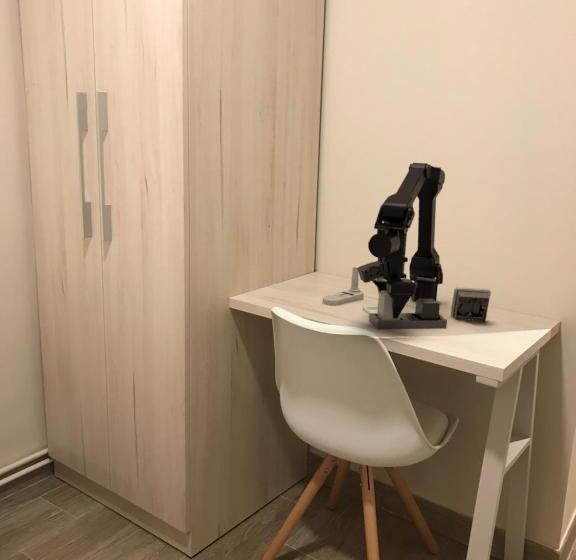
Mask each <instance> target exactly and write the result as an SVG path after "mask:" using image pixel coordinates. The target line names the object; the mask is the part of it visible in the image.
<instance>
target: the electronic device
mask: <svg viewBox="0 0 576 560" xmlns="http://www.w3.org/2000/svg"><path fill="white" fill-rule="evenodd" d="M357 268H358V267H356V266H355V267H352V272H351V273H352V275H351V283H350V284H351V285H350V288H349V289H347V290H343V291H340V292H336V293H332V294H328V295H325V296H323V297H322V304H323V305H325V306H329V307H330V306H332V307H338V306H342V305H346V304H350V303H356V302H359V301H363V300H364V294H365V293H364V291H362V290H361V289H360V288H359V272H358V269H357Z"/></svg>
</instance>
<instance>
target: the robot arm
mask: <svg viewBox="0 0 576 560" xmlns="http://www.w3.org/2000/svg"><path fill="white" fill-rule="evenodd" d="M445 180H446V173H445V171H444V170H443V169H442V168H441V167H439V166H433V165H431V164H428V163H427V162H426V163H425V162H412V163H410V164H409V166H408V172H407V173H406V175H405V177H404V179H403V180H402V182H401V184H400V185H399V188H398V189H397V191H396V192H395V193H393V194H391V195H388V196H387V198H386V199H385V200H384V202H382V204H381V205H380V207H379V210H378V213H377V216H376V219H375V223H374V227H373V228H374V229H375V230H376V233H375V234H373V235H372V236H371V237H370V238H369V241H368V244H367V245H368V251H369V252H370V254H371V255H372V256H373V257H375V258H377V260H376V261H372V262H369V263H366V264H363V265H360V266H357V267H356V268H357V269H358V276H359V279H360V281H363V283H365V284H366V283H371V282H372V283H373V285H375V286H376V288H377V293H378V294H379V292H381V291H386V292H387V294H388V295H389V296H390V297H391V301H392V315H393V318H394V319H397V318H398V317H399V315H400V313H401V312H402V313H403V310H404V308H405V307H406V305H407V303H408V302H409V301H410V299H411V300H413V301H414V302H415V303H416V299H433V300H435V301H437V298H438V290H439V289H438V288H439V287H438V286H439V285H443V283H444V272H443V267H442V265H441V263H440V262H441V259H440V255H439V253H438V251H437V249H436V248H435V235H436V234H435V233H436V213H437V212H436V211H437V210H436V208H437V197H438V196H439V195H440V193H441V191H442V190H443V187H444V186H443V185H444V184H445ZM416 199H418V216H417V217H418V223H417V249H416V251H415V252H414V254H413V255H412V256H411V258H410V263H409V278H407V274H406V273H405V264H406V263H408V260H409V257H407V256H406V251H407V238H408V237H407V236H408V232H409V229H410V228H411V227H412V223H413V221H414V218H415V216H416V212H415V210H414V209H415V208H414V203H415V200H416ZM437 302H438V303H439V304H440V302H439V301H437Z"/></svg>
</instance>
